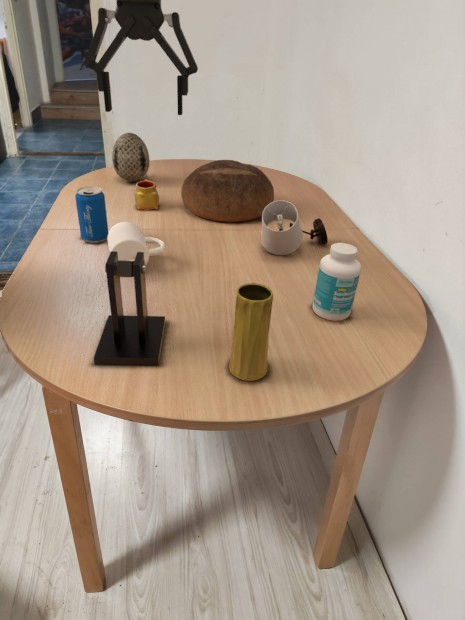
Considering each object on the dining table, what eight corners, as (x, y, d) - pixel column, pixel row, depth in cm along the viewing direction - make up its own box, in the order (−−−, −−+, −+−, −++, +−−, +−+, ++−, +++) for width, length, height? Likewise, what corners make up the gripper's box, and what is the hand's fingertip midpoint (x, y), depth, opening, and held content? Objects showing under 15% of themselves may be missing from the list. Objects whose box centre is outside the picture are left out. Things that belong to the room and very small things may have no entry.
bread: (183, 191, 143) (183, 148, 136) (267, 194, 144) (271, 152, 137) (178, 222, 121) (177, 173, 114) (277, 226, 123) (283, 177, 115)
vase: (256, 386, 69) (265, 307, 61) (221, 372, 71) (225, 294, 63) (273, 364, 73) (283, 288, 66) (240, 352, 76) (245, 277, 68)
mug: (111, 276, 95) (108, 241, 91) (109, 255, 103) (105, 222, 99) (168, 271, 98) (167, 237, 94) (161, 251, 106) (160, 219, 102)
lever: (127, 276, 81) (127, 255, 80) (148, 276, 81) (148, 256, 80) (112, 280, 68) (112, 256, 67) (136, 281, 68) (136, 257, 67)
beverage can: (77, 243, 107) (70, 194, 101) (86, 232, 113) (79, 185, 106) (104, 245, 107) (99, 195, 101) (112, 234, 113) (107, 186, 106)
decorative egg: (106, 180, 148) (101, 132, 140) (134, 173, 156) (131, 127, 148) (129, 189, 142) (126, 139, 134) (157, 181, 150) (155, 134, 142)
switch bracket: (109, 321, 81) (99, 240, 73) (165, 322, 82) (162, 242, 73) (94, 364, 71) (81, 276, 63) (158, 365, 72) (154, 278, 63)
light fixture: (258, 240, 118) (251, 204, 102) (315, 220, 117) (317, 181, 101) (270, 273, 114) (265, 242, 98) (329, 253, 114) (334, 218, 98)
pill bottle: (331, 326, 83) (345, 261, 76) (303, 308, 88) (314, 244, 81) (358, 315, 87) (374, 251, 80) (330, 297, 92) (342, 236, 85)
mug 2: (158, 211, 128) (157, 187, 124) (133, 210, 127) (132, 187, 123) (160, 196, 138) (160, 174, 134) (137, 196, 137) (136, 174, 133)
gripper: (54, -32, 72) (73, 112, 83) (212, -22, 73) (209, 118, 85) (67, -28, 78) (83, 105, 90) (212, -19, 79) (209, 111, 91)
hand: (144, 112), depth 87 cm, fingers open, 13 cm apart
